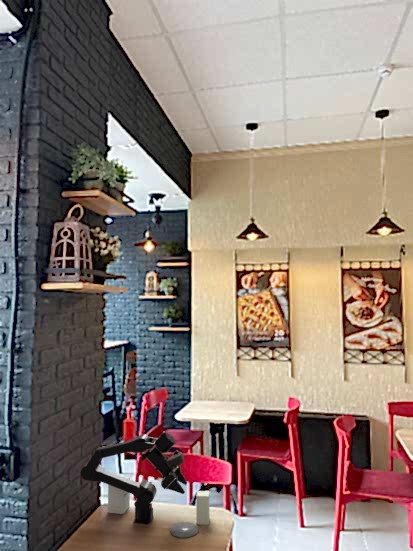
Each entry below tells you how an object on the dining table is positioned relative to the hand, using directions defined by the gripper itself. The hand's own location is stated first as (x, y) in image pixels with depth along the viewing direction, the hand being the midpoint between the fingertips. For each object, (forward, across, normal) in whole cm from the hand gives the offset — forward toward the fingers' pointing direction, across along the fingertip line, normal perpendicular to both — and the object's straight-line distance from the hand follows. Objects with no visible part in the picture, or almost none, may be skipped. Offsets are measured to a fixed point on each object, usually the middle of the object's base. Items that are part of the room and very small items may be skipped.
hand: (185, 488), depth 183 cm
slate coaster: (+9, -8, +9) cm, 15 cm away
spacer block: (+14, 0, +4) cm, 15 cm away
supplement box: (-12, +9, +30) cm, 34 cm away
